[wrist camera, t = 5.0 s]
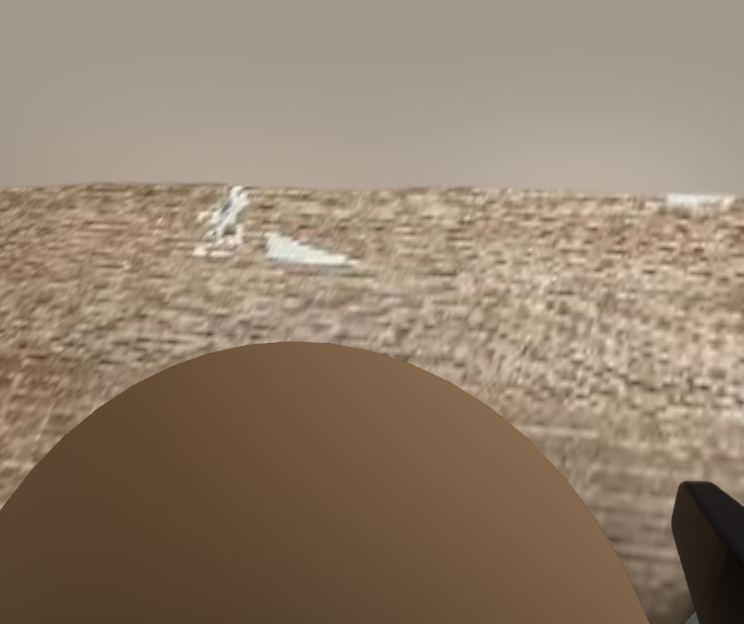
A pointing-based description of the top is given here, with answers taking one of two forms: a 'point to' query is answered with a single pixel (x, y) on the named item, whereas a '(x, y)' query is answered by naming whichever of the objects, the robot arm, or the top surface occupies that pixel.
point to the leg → (303, 505)
